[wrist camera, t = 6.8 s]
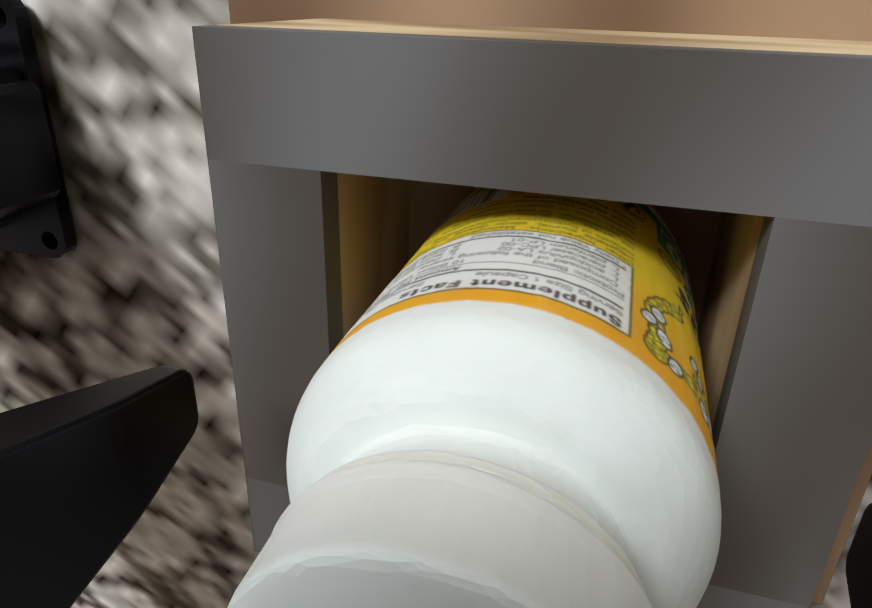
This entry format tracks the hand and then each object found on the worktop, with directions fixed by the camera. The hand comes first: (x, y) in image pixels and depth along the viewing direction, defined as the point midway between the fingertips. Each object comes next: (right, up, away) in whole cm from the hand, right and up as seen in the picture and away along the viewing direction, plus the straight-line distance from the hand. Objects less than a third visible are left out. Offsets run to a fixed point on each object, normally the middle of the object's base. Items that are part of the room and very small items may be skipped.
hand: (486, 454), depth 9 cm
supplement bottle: (+2, +2, +5) cm, 6 cm away
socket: (+2, +3, +6) cm, 7 cm away
